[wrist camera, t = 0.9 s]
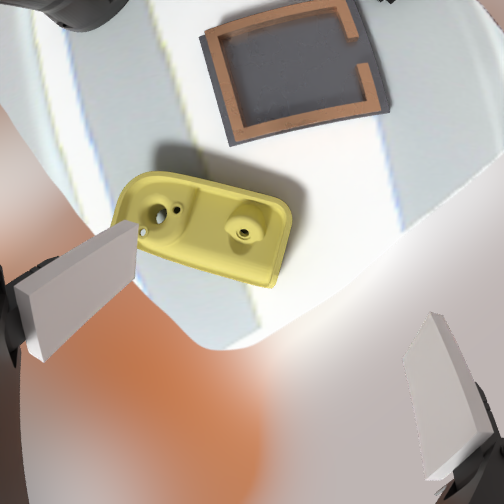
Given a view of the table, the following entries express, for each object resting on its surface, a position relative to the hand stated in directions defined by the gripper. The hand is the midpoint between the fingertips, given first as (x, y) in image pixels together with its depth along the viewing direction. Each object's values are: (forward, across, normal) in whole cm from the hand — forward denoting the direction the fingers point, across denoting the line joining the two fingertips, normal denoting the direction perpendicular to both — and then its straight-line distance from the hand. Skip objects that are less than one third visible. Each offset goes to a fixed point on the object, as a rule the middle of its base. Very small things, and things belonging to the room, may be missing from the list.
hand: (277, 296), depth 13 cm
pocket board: (+25, -5, +13) cm, 28 cm away
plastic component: (+25, -10, -7) cm, 28 cm away
